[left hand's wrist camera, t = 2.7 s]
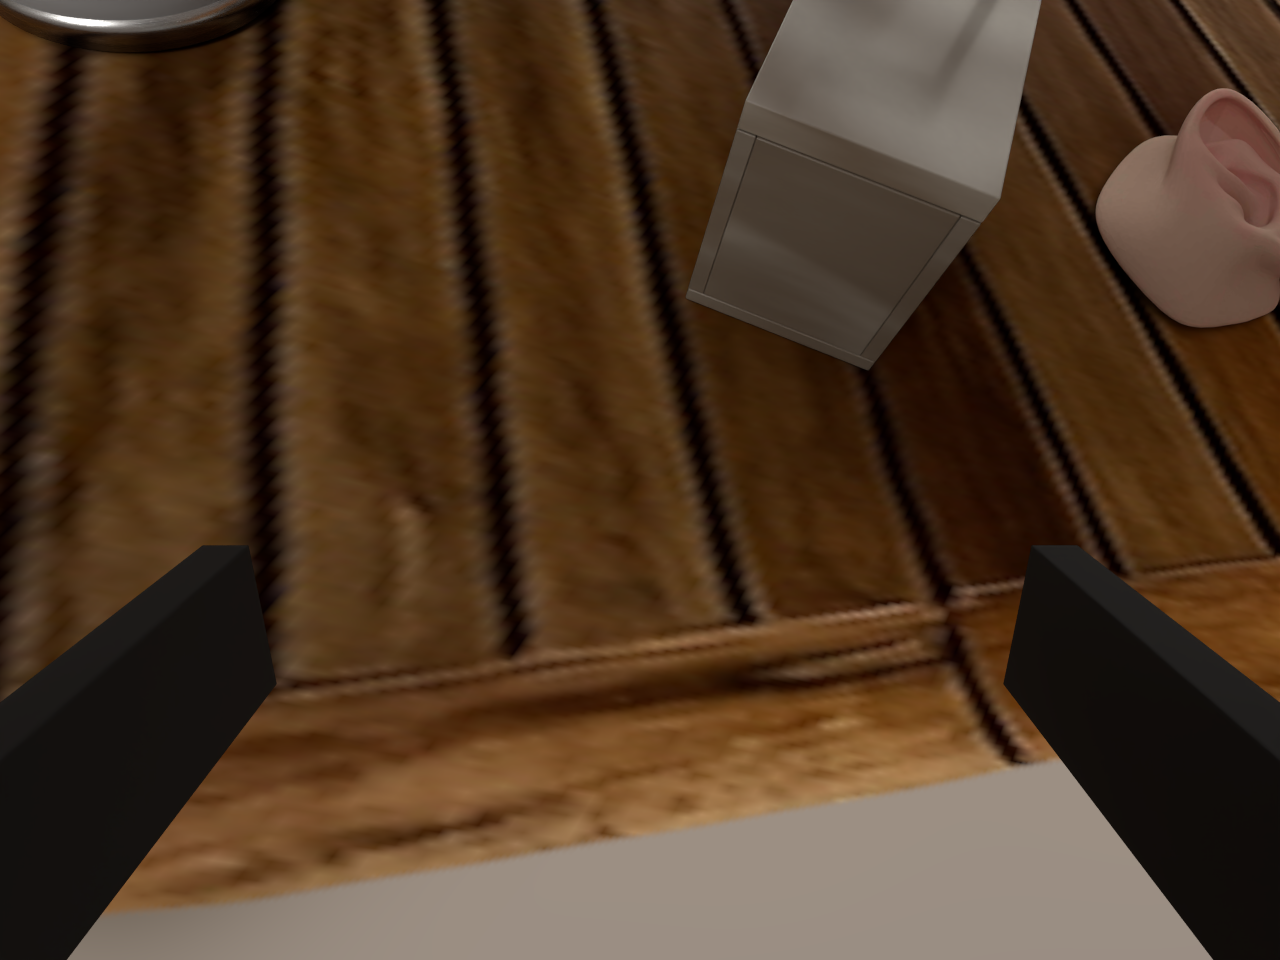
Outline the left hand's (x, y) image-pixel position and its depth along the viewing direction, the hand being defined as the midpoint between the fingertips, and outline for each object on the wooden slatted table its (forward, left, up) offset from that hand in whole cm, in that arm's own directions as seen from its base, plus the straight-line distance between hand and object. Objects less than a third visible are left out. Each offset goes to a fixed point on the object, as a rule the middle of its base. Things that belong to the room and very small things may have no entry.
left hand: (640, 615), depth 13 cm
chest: (-21, +17, -15) cm, 31 cm away
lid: (-21, +17, -6) cm, 28 cm away
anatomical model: (-18, +38, -15) cm, 45 cm away
